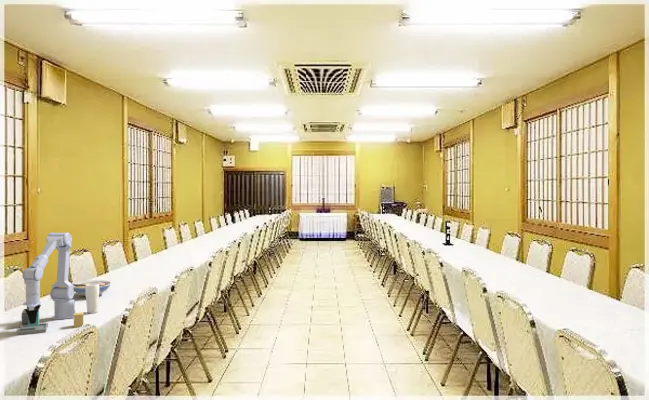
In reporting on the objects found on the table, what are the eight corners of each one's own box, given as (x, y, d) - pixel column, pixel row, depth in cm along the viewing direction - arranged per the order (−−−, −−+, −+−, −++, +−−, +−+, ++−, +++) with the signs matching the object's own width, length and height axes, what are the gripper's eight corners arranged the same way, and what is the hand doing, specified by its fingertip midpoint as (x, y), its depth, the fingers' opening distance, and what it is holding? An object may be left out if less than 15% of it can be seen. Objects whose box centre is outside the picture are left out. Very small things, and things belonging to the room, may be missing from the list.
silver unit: (38, 321, 247) (38, 307, 247) (36, 326, 238) (36, 311, 237) (22, 322, 244) (21, 308, 244) (19, 328, 235) (19, 313, 235)
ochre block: (83, 324, 242) (83, 312, 242) (83, 326, 238) (83, 314, 238) (74, 325, 240) (74, 313, 240) (73, 327, 236) (73, 315, 236)
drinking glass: (101, 310, 268) (101, 283, 267) (96, 314, 261) (96, 285, 261) (88, 310, 268) (88, 283, 267) (83, 314, 261) (83, 285, 260)
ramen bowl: (120, 292, 314) (119, 279, 314) (100, 300, 291) (100, 286, 291) (82, 291, 316) (82, 278, 316) (60, 299, 294) (60, 285, 293)
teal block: (39, 323, 234) (39, 311, 234) (38, 325, 230) (38, 313, 230) (29, 324, 232) (29, 312, 232) (28, 326, 228) (28, 314, 228)
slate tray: (47, 326, 238) (47, 322, 238) (45, 332, 228) (45, 329, 228) (21, 328, 234) (21, 325, 234) (17, 335, 224) (17, 331, 224)
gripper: (25, 291, 235) (25, 319, 236) (20, 297, 222) (21, 327, 223) (41, 289, 238) (42, 317, 239) (38, 295, 225) (39, 325, 226)
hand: (33, 322), depth 231 cm, fingers closed on teal block, 4 cm apart
